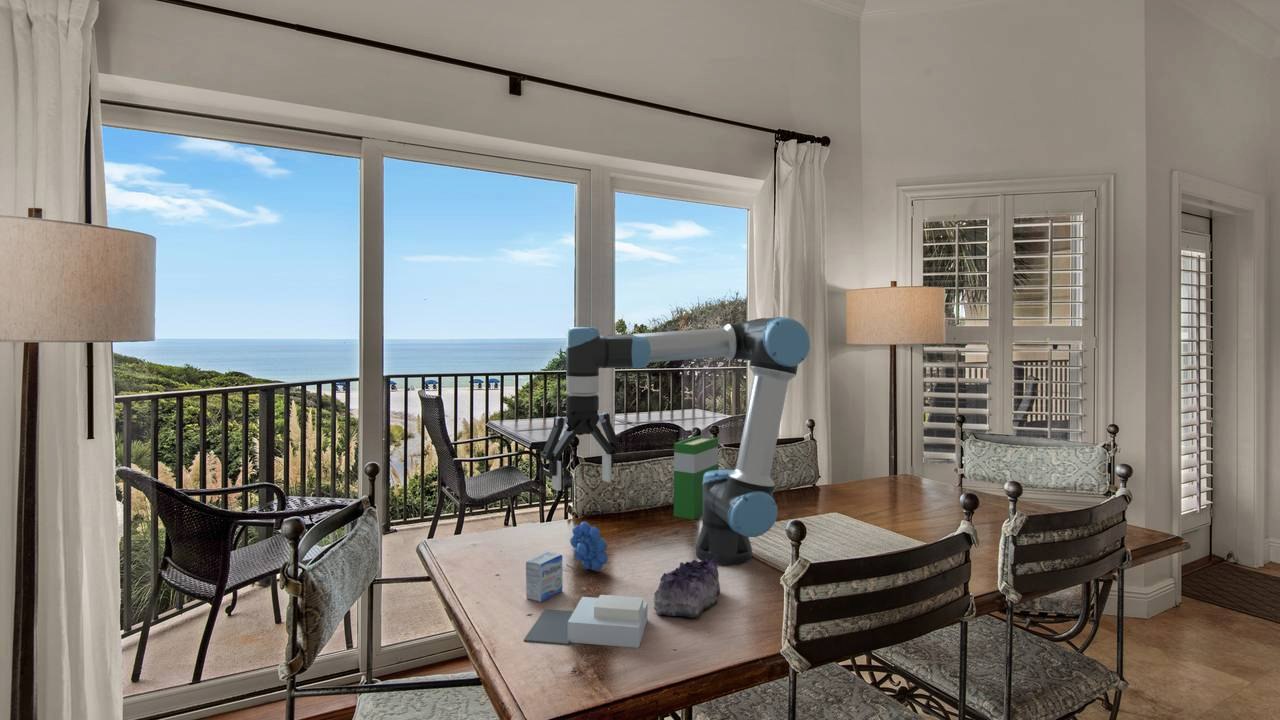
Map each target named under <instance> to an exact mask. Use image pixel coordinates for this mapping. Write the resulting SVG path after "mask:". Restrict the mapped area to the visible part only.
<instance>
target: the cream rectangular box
mask: <svg viewBox="0 0 1280 720" xmlns="http://www.w3.org/2000/svg"><path fill="white" fill-rule="evenodd" d="M597 598H598V600H597V602H596V604H595V606H594V617H602V618H615V619H628V620H639V618H640V615H641V612H642V609H643V601H644V597H639V596H627V595H626V596H624V595H611V594H610V595H608V594H600V595H599V596H598V597H597Z"/></svg>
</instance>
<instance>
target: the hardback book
mask: <svg viewBox="0 0 1280 720" xmlns="http://www.w3.org/2000/svg"><path fill="white" fill-rule="evenodd" d="M673 449H674V450H673V453H674V454H673V458H674V459H673V517H676V518H682V519H688V520H693V521H695V520H696V519H698V518H700V517H703V486H702V483H703V476H704V474H705V473H706V472H708V471H713V470H719V437H714V438H703V437H702V436H701V435H697V436H693V437H691V438H687V439H684V440H680V441H677V442H674V444H673Z"/></svg>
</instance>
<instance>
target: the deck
mask: <svg viewBox="0 0 1280 720" xmlns="http://www.w3.org/2000/svg"><path fill="white" fill-rule="evenodd" d="M598 598H599V597H591V596H581V598H580V600H579V601H578V603H577V605H576V607H575V609H574V610H573V611H574V612H573V614H572V615H571V617H570V619H569V620H568V641H570V643H573V644H584V645H585V644H587V645H598V646H610V647H612V646H613V647H623V648H634V649H639V648H640V645H641V642H642V639H643V635H644V633H645V628H646V626H647V622H648V608H649V607H648V605H649V604H648V600H647V601H646V600H643V609H642V612H641V615H640V618H639V620H628V619H615V618H602V617H594V606H595V604H596V602H597V600H598Z"/></svg>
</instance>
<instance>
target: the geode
mask: <svg viewBox="0 0 1280 720" xmlns="http://www.w3.org/2000/svg"><path fill="white" fill-rule="evenodd" d="M718 567H719V564H718V562H717V560H716V559H715V558H714V559H713V560H712V559H711V558H709V557H708V558H707V559H705V560H704V561H703V560H700V561H697V560H696V559H693V560H691V561H686V562H685V563H684V562H680V563H679V567H676V568H675V569H674V570H671V571H669V572H667V573H665V572H664V573H663V574H662V575H661V577H660V578H659V579H660V582H659V584H658V589H656V591H655V592H654V593H653V594H654V597H653V603H654V605H653V609H654V610H655V612H656V614H657V616H663V615H664V616H674V617H677V616H678V617H686V618H689V619H690V618H691V619H692V618H695V619H697V618H699V616H701V615H702V612H703V611H704V610H707V609H709V608H711V607H712V606H715V605H716V604H717V603H718V602H719V599H718V596H717V595H720V593H721V585H720V581H719V580H720V579H719V578H720V577H719V570H718Z"/></svg>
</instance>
